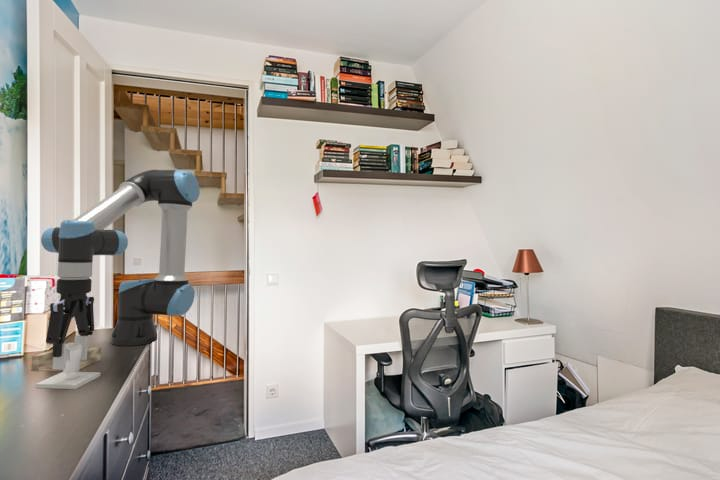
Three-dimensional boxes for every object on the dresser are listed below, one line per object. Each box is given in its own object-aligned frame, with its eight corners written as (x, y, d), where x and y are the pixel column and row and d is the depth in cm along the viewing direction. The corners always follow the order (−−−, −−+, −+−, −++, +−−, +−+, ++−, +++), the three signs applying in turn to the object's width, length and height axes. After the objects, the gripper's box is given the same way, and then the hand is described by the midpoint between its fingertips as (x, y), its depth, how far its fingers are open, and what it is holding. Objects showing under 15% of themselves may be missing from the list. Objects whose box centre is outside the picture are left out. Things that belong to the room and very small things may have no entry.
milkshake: (54, 378, 104) (56, 340, 104) (79, 373, 108) (80, 337, 108) (58, 382, 101) (59, 343, 101) (83, 377, 105) (84, 340, 105)
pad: (63, 375, 110) (63, 371, 110) (100, 376, 110) (100, 372, 110) (35, 387, 100) (35, 384, 100) (75, 389, 100) (76, 385, 100)
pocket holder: (61, 358, 124) (62, 345, 124) (100, 359, 125) (101, 346, 125) (31, 370, 112) (31, 356, 112) (74, 371, 113) (75, 357, 113)
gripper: (85, 274, 115) (81, 353, 115) (29, 281, 95) (24, 376, 94) (111, 275, 116) (107, 353, 115) (61, 282, 95) (56, 377, 95)
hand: (70, 363), depth 105 cm, fingers open, 8 cm apart
